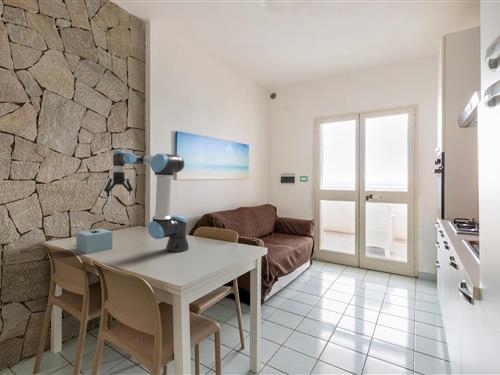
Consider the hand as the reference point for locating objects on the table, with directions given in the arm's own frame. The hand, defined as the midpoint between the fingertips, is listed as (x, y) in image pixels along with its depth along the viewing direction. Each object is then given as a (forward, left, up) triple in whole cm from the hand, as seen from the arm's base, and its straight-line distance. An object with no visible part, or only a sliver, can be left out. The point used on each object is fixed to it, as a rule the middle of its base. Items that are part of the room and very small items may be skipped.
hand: (118, 200), depth 191 cm
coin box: (-3, +18, -32) cm, 37 cm away
